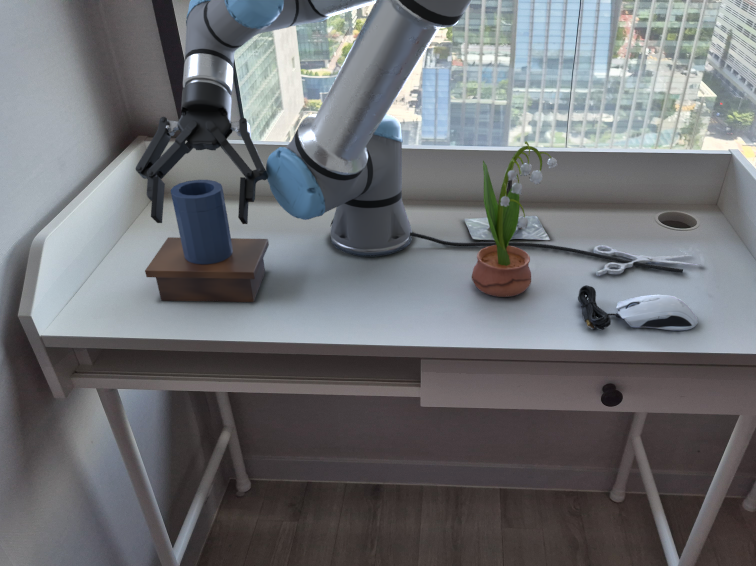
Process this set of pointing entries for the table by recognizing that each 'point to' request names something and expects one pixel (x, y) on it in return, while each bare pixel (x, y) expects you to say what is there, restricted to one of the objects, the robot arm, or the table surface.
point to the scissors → (634, 257)
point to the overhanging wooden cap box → (209, 273)
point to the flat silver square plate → (534, 231)
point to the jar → (202, 221)
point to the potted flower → (506, 233)
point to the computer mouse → (639, 311)
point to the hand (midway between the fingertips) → (199, 220)
